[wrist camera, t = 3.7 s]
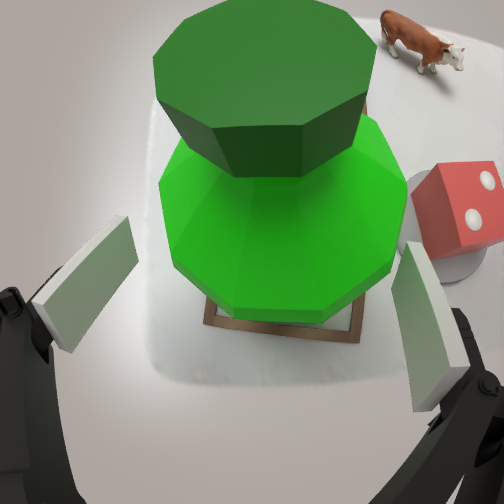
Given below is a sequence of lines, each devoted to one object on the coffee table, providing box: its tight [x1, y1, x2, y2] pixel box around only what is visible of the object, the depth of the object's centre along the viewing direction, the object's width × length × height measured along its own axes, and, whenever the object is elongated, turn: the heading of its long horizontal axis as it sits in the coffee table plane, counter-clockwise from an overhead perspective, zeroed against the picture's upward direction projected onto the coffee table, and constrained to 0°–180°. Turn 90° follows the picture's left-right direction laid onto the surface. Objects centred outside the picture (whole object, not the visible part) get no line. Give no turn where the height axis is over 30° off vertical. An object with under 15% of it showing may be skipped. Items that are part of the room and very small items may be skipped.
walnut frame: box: [203, 99, 367, 343], centre depth 31 cm, size 15×40×1 cm, turn 172°
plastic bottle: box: [153, 0, 408, 323], centre depth 17 cm, size 10×10×25 cm
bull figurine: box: [380, 10, 465, 75], centre depth 27 cm, size 4×13×8 cm, turn 42°
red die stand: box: [397, 161, 504, 283], centre depth 23 cm, size 12×12×9 cm
